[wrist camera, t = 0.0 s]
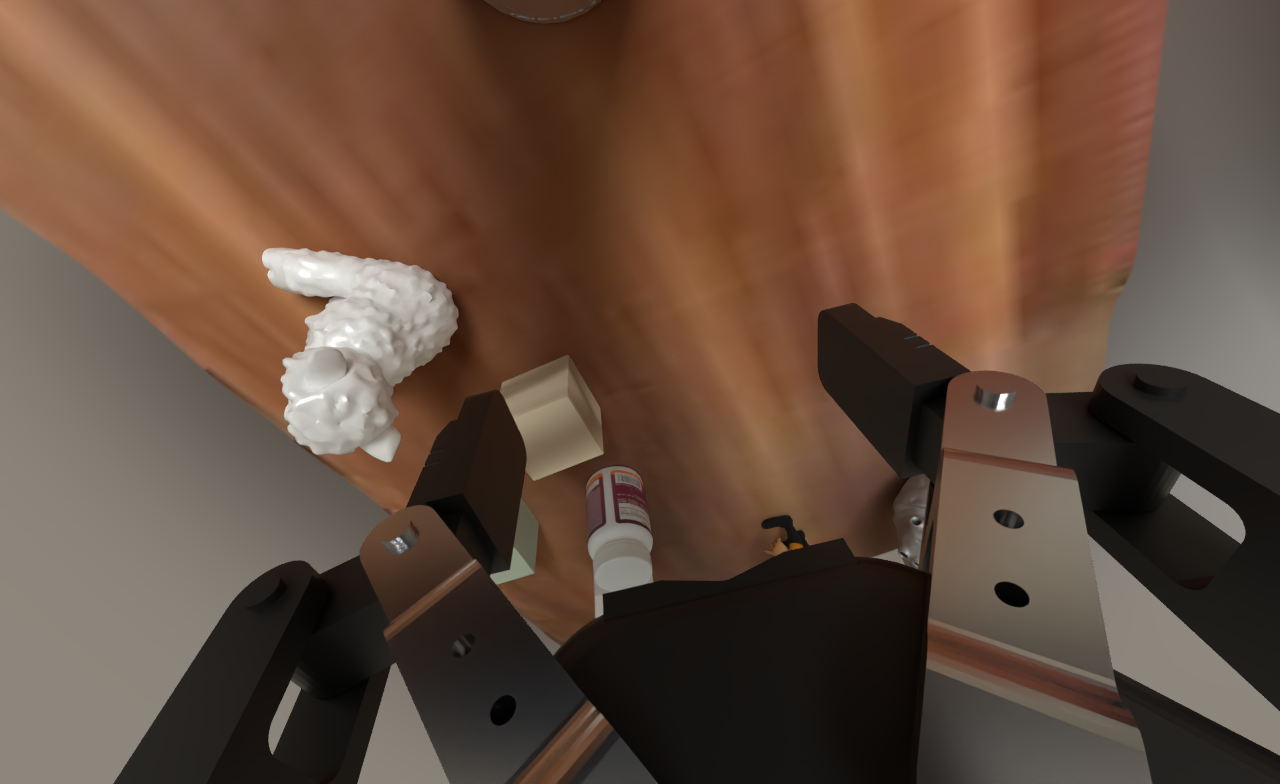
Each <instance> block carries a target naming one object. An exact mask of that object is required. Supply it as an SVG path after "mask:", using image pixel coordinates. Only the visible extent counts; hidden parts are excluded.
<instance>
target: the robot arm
mask: <svg viewBox="0 0 1280 784" xmlns="http://www.w3.org/2000/svg"><path fill="white" fill-rule="evenodd" d="M484 1H485V2H487V3H488V4H490V5H491V6H492V7H494V8H495V9H497V10H498V11H500V12H502V13H505V14H507V15H509V16H512V17H514V18H517V19H519V20H522V21H527V22H534V23H541V24H548V23H556V22H564V21H568V20H570V19H573V18H575V17H578V16H580V15H582V14H585V13H587V12H588V11H589V10H591V9H592V8H593V7H594V6H596V5H597V4H598V3H600V2H601V1H602V0H484ZM818 373H819V377H820V380H821V383H822V385H823V387H824V389H825V390H826V391H827V392H828V394H829V395H830V396H831V397H832V398H833V399H834V401H835V402H836V403H837V404H838V405H839V406H840V408H841V409H842V410H843V411H844V412H845V413H846V415H847V416H848V417H849V418H850V419H851V421H852V422H853V423H854V424H855V425H856V426H857V428H858V429H859V430H860V431H861V432H862V433H863V435H864V436H865V437H866V438H867V439H868V440H869V442H870V443H871V444H872V445H873V446H874V447H875V449H876V450H877V451H878V452H879V453H880V454H881V456H882V457H883V458H884V459H885V460H886V462H887V463H888V464H889V465H890V466H891V467H892V469H893V470H894V471H895V472H896V473H897V474H898V476H899V477H900V478H901V479H904V478H909V477H913V476H917V475H921V474H925V475H926V476H927V477H928V478H929V480H930V482H929V487H928V492H927V500H926V508H925V517H924V525H923V533H922V541H921V550H920V558H919V565H918V569H915V568H913V567H910V566H907V565H903V564H900V563H897V562H892V561H888V560H883V559H877V558H868V557H854V555H853V554H852V552H851V550H850V549H849V547H848V545H847V544H846V542H845V540H844V539H843V538H841V539H837V540H833V541H828V542H824V543H820V544H815V545H811V546H807V547H802V548H798V549H794V550H790V551H785V552H782V553H780V554H778V555H776V556H775V557H773V558H771V559H769V560H767V561H765V562H763V563H761V564H759V565H757V566H755V567H753V568H751V569H749V570H747V571H745V572H743V573H741V574H739V575H737V576H736V577H734V578H731V579H729V580H725V581H666V580H661V581H657V582H652V583H648V584H644V585H639V586H635V587H631V588H626V589H622V590H618V591H614V592H609V593H605V594H603V615H601V616H599V617H597V618H595V619H594V620H592V621H591V622H589V623H588V624H586V625H585V626H583V627H582V628H581V629H580V630H578V631H577V632H576V633H575V634H573V635H572V636H571V637H570V638H569V639H568V640H567V641H566V642H565V643H564V644H563V645H562V646H561V647H560V648H559V649H558V650H557V652H556V653H555V654H554V655H552V654H551V652H550V651H549V650H548V649H547V647H546V646H545V645H544V644H543V642H542V641H541V640H540V639H539V637H538V636H537V635H536V634H535V632H534V631H533V630H532V629H531V627H530V626H529V625H528V624H527V622H526V621H525V620H524V619H523V617H522V616H521V615H520V614H519V612H518V611H517V610H516V609H515V607H514V606H513V605H512V604H511V602H510V601H509V600H508V599H507V597H506V596H505V595H504V594H503V592H502V591H501V590H500V589H499V587H498V586H497V585H496V584H495V582H494V581H493V580H492V579H491V577H490V575H491V574H495V573H499V572H503V571H507V570H510V567H511V560H512V554H513V547H514V540H515V534H516V527H517V521H518V514H519V508H520V501H521V495H522V488H523V482H524V475H525V469H526V462H527V454H526V448H525V444H524V440H523V438H522V435H521V433H520V431H519V429H518V427H517V425H516V423H515V420H514V418H513V416H512V414H511V412H510V410H509V408H508V405H507V403H506V401H505V399H504V397H503V395H502V394H501V392H500V391H498V390H494V391H490V392H486V393H482V394H478V395H473V396H469V397H467V398H466V399H465V401H464V404H463V407H462V409H461V412H460V414H459V417H458V419H457V420H454V421H451V422H450V423H449V424H448V425H447V426H446V427H445V428H444V429H443V430H442V431H441V432H440V434H439V435H438V436H437V437H436V440H435V442H434V444H433V446H432V449H431V451H430V452H431V454H430V455H429V456H428V458H427V460H426V463H425V467H423V469H422V472H421V474H420V476H419V479H418V481H417V483H416V485H415V488H414V490H413V492H412V495H411V497H410V499H409V502H408V504H407V506H406V508H404V509H402V510H399V511H397V512H395V513H394V514H392V515H390V516H389V517H387V518H386V519H384V520H383V521H382V522H380V523H379V524H378V525H377V526H376V527H375V528H374V529H373V530H372V531H371V532H370V533H369V535H368V536H367V537H366V539H365V541H364V542H363V544H362V546H361V549H360V555H359V556H357V557H355V558H353V559H351V560H349V561H347V562H344V563H342V564H340V565H338V566H336V567H334V568H332V569H330V570H328V571H326V572H324V573H322V574H319V573H318V572H317V571H316V570H314V569H313V568H312V567H311V566H310V565H309V564H308V563H307V562H305V561H291V562H287V563H285V564H281V565H279V566H277V567H275V568H273V569H271V570H269V571H267V572H266V573H264V574H262V575H261V576H259V577H258V578H257V579H255V580H254V581H253V582H251V583H250V584H249V585H248V586H247V587H246V588H244V590H242V591H241V592H240V593H239V594H238V595H237V597H236V598H235V599H234V600H233V601H232V603H231V604H230V605H229V607H228V608H227V610H226V611H225V613H224V614H223V616H222V617H221V619H220V620H219V622H218V624H217V625H216V627H215V628H214V630H213V631H212V633H211V634H210V636H209V637H208V639H207V640H206V642H205V644H204V645H203V647H202V648H201V650H200V651H199V653H198V654H197V656H196V658H195V659H194V660H193V662H192V664H191V665H190V667H189V668H188V670H187V671H186V673H185V674H184V676H183V678H182V679H181V681H180V682H179V684H178V685H177V687H176V688H175V690H174V691H173V693H172V695H171V696H170V697H169V699H168V700H167V702H166V704H165V705H164V707H163V708H162V710H161V711H160V713H159V714H158V716H157V717H156V719H155V720H154V722H153V724H152V725H151V727H150V728H149V730H148V731H147V733H146V734H145V736H144V737H143V739H142V740H141V742H140V744H139V745H138V747H137V748H136V750H135V752H134V753H133V754H132V756H131V757H130V759H129V761H128V762H127V764H126V765H125V767H124V768H123V770H122V772H121V773H120V774H119V776H118V777H117V779H116V781H115V782H114V784H357V782H358V779H359V775H360V772H361V768H362V765H363V762H364V758H365V755H366V751H367V747H368V744H369V740H370V737H371V734H372V730H373V727H374V723H375V719H376V716H377V713H378V709H379V706H380V702H381V698H382V695H383V692H384V688H385V684H386V681H387V678H388V674H389V671H390V667H391V665H392V664H394V663H396V664H397V666H398V668H399V670H400V673H401V675H402V677H403V679H404V682H405V684H406V686H407V688H408V691H409V693H410V695H411V697H412V700H413V702H414V704H415V706H416V709H417V711H418V713H419V715H420V718H421V720H422V722H423V724H424V727H425V729H426V731H427V734H428V736H429V738H430V740H431V742H432V744H433V747H434V749H435V751H436V754H437V756H438V758H439V760H440V763H441V765H442V767H443V769H444V772H445V774H446V776H447V778H448V780H449V783H450V784H1280V756H1279V755H1277V754H1276V753H1274V752H1272V751H1270V750H1268V749H1266V748H1264V747H1262V746H1260V745H1258V744H1256V743H1254V742H1252V741H1251V740H1249V739H1247V738H1245V737H1243V736H1241V735H1239V734H1237V733H1235V732H1233V731H1231V730H1229V729H1227V728H1226V727H1223V726H1222V725H1220V724H1218V723H1216V722H1214V721H1212V720H1210V719H1208V718H1206V717H1204V716H1202V715H1200V714H1199V713H1197V712H1195V711H1193V710H1191V709H1189V708H1187V707H1185V706H1183V705H1181V704H1179V703H1177V702H1175V701H1174V700H1172V699H1170V698H1168V697H1166V696H1164V695H1162V694H1160V693H1158V692H1156V691H1154V690H1152V689H1150V688H1148V687H1147V686H1144V685H1143V684H1141V683H1139V682H1137V681H1135V680H1133V679H1131V678H1129V677H1127V676H1125V675H1123V674H1122V673H1120V672H1118V671H1116V670H1114V669H1113V667H1112V663H1111V657H1110V652H1109V646H1108V641H1107V635H1106V630H1105V625H1104V619H1103V614H1102V609H1101V603H1100V598H1099V593H1098V587H1097V582H1096V577H1095V571H1094V566H1093V560H1092V555H1091V550H1090V545H1089V539H1088V534H1089V535H1090V536H1091V537H1092V538H1093V539H1094V540H1095V541H1096V542H1097V543H1098V544H1099V545H1100V546H1102V547H1103V548H1104V549H1105V550H1106V551H1107V552H1108V553H1109V554H1110V555H1111V556H1112V557H1113V558H1115V560H1117V561H1118V562H1119V563H1120V564H1121V565H1122V566H1123V567H1124V568H1125V569H1126V570H1127V571H1128V572H1130V573H1131V574H1132V575H1133V576H1134V577H1135V578H1136V579H1137V580H1138V581H1139V582H1141V584H1143V585H1144V586H1145V587H1146V588H1147V589H1148V590H1149V591H1150V592H1151V593H1152V594H1153V595H1155V596H1156V597H1157V598H1158V599H1159V600H1160V601H1161V602H1162V603H1163V604H1164V605H1166V607H1167V608H1169V609H1170V610H1171V611H1172V612H1173V613H1174V614H1175V615H1176V616H1177V617H1178V618H1179V619H1180V620H1182V621H1183V622H1184V623H1185V624H1186V625H1187V626H1188V627H1189V628H1190V629H1191V630H1192V631H1193V632H1195V633H1196V634H1197V635H1198V636H1199V637H1200V638H1201V639H1202V640H1203V641H1204V642H1205V643H1206V644H1208V645H1209V646H1210V647H1211V648H1212V649H1213V650H1214V651H1215V652H1216V653H1217V654H1218V655H1219V656H1221V657H1222V658H1223V659H1224V660H1225V661H1226V662H1227V663H1228V664H1229V665H1230V666H1231V667H1232V668H1233V669H1235V670H1236V671H1237V672H1238V673H1239V674H1240V675H1241V676H1242V677H1243V678H1244V679H1245V680H1246V681H1248V682H1249V683H1250V684H1251V685H1252V686H1253V687H1254V688H1255V689H1256V690H1257V691H1258V692H1260V693H1261V694H1262V695H1263V696H1264V697H1265V698H1266V699H1267V700H1268V701H1269V702H1270V703H1271V704H1273V705H1274V706H1275V707H1276V708H1277V709H1278V710H1279V711H1280V414H1279V413H1277V412H1275V411H1273V410H1271V409H1269V408H1267V407H1265V406H1262V405H1260V404H1258V403H1256V402H1254V401H1252V400H1250V399H1248V398H1246V397H1244V396H1241V395H1239V394H1237V393H1235V392H1233V391H1231V390H1229V389H1227V388H1225V387H1223V386H1221V385H1218V384H1216V383H1214V382H1212V381H1210V380H1208V379H1206V378H1204V377H1201V376H1199V375H1197V374H1194V373H1191V372H1188V371H1184V370H1181V369H1177V368H1172V367H1168V366H1161V365H1153V364H1124V365H1118V366H1114V367H1111V368H1108V369H1106V370H1104V371H1103V372H1102V373H1101V374H1100V376H1099V378H1098V381H1097V383H1096V386H1095V388H1094V390H1093V392H1073V393H1045V392H1044V391H1043V390H1042V389H1041V388H1040V387H1039V386H1038V385H1036V384H1035V383H1033V382H1032V381H1030V380H1028V379H1025V378H1023V377H1020V376H1017V375H1014V374H1010V373H1005V372H998V371H973V372H971V371H970V370H968V369H967V368H965V367H964V366H962V365H961V364H959V363H958V362H957V361H955V360H954V359H952V358H951V357H949V356H948V355H946V354H945V353H943V352H942V351H941V350H939V349H938V348H936V347H935V346H933V345H929V342H927V341H926V340H924V339H923V338H922V337H920V336H919V337H917V334H916V333H914V332H913V331H911V330H910V329H908V328H907V327H906V326H904V325H903V324H901V323H897V322H894V321H891V320H888V319H885V318H882V317H878V318H875V317H873V316H872V315H871V314H869V313H868V312H867V311H865V310H864V309H862V308H861V307H860V306H858V305H857V304H855V303H850V304H846V305H842V306H838V307H834V308H830V309H826V310H822V311H821V312H820V313H819V316H818ZM1181 473H1182V474H1183V475H1185V476H1186V477H1188V478H1189V479H1191V480H1192V481H1194V482H1195V483H1197V484H1198V485H1200V486H1201V487H1203V488H1204V489H1206V490H1207V491H1209V492H1210V493H1212V494H1213V495H1215V496H1216V497H1218V498H1219V499H1221V500H1222V501H1224V502H1225V503H1226V504H1228V505H1229V506H1230V507H1231V508H1233V509H1234V510H1235V511H1236V513H1237V514H1238V515H1239V516H1240V518H1241V520H1242V521H1243V524H1244V526H1245V530H1246V535H1245V539H1244V541H1243V542H1242V544H1240V543H1239V542H1237V541H1236V540H1234V539H1233V538H1232V537H1230V536H1229V535H1227V534H1226V533H1225V532H1223V531H1222V530H1220V529H1219V528H1217V527H1216V526H1215V525H1213V524H1212V523H1211V522H1209V521H1208V520H1206V519H1205V518H1204V517H1202V516H1201V515H1199V514H1198V513H1197V512H1195V511H1194V510H1192V509H1191V508H1190V507H1188V506H1187V505H1185V504H1184V503H1183V502H1181V501H1180V500H1178V499H1177V498H1176V497H1174V496H1173V495H1171V494H1170V493H1169V492H1170V491H1171V489H1172V487H1173V486H1174V484H1175V483H1176V481H1177V479H1178V477H1179V476H1180V474H1181ZM290 680H291V681H292V682H294V683H295V684H296V685H298V686H299V687H300V688H301V691H300V693H299V696H298V698H297V700H296V702H295V705H294V707H293V710H292V712H291V714H290V716H289V719H288V721H287V723H286V726H285V728H284V730H283V733H282V735H281V737H280V740H279V742H278V744H277V747H276V749H275V751H274V754H273V755H272V754H271V751H270V748H269V743H268V735H269V729H270V725H271V722H272V720H273V717H274V715H275V713H276V711H277V709H278V706H279V704H280V702H281V700H282V698H283V695H284V693H285V691H286V689H287V687H288V684H289V682H290Z"/></svg>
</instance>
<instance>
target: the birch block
mask: <svg viewBox="0 0 1280 784" xmlns="http://www.w3.org/2000/svg"><path fill="white" fill-rule="evenodd" d="M500 392H501V394H502V395H503V397H504V399H505V401H506V403H507V405H508V408H509V410H510V412H511V414H512V416H513V418H514V420H515V423H516V425H517V427H518V429H519V431H520V433H521V435H522V438H523V440H524V444H525V448H526V454H527V462H526V469H525V471H526V472H527V473H528V474H529V476H530V477H531V478H532V479H533V481H535V480H538V479H540V478H543V477H546V476H548V475H551V474H553V473H556V472H558V471H561V470H564V469H566V468H569V467H571V466H574V465H576V464H579V463H582V462H584V461H587V460H589V459H592V458H595V457H597V456H600V455H602V454H604V451H603V437H602V423H601V409H600V407H599V405H598V403H597V401H596V400H595V398H594V396H593V395H592V393H591V391H590V390H589V388H588V386H587V384H586V383H585V381H584V379H583V378H582V376H581V374H580V373H579V371H578V369H577V367H576V366H575V364H574V362H573V361H572V359H571V357H570V356H569V354H568V355H566V356H563V357H561V358H558V359H556V360H554V361H551V362H549V363H547V364H544V365H542V366H540V367H537V368H535V369H532V370H530V371H528V372H525V373H523V374H521V375H518V376H516V377H514V378H511V379H509V380H507V381H504V382H502V386H501V390H500Z"/></svg>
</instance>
